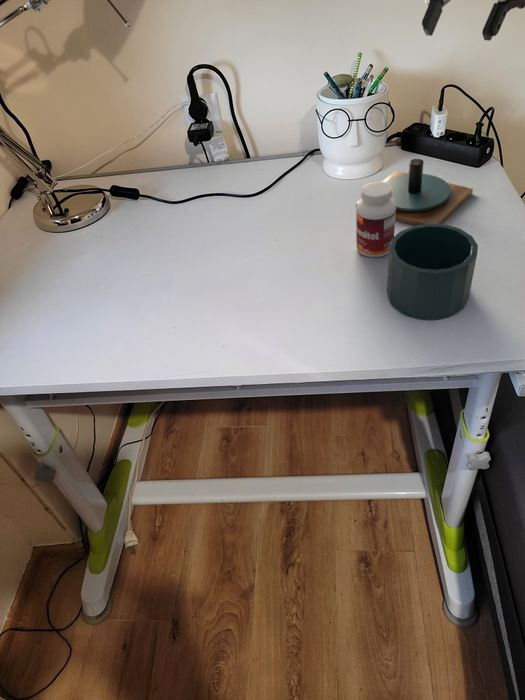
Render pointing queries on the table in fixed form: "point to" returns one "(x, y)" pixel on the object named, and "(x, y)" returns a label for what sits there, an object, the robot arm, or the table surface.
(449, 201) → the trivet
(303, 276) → the table surface
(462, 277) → the pot
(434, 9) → the robot arm
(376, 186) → the pill bottle
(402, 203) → the lid
